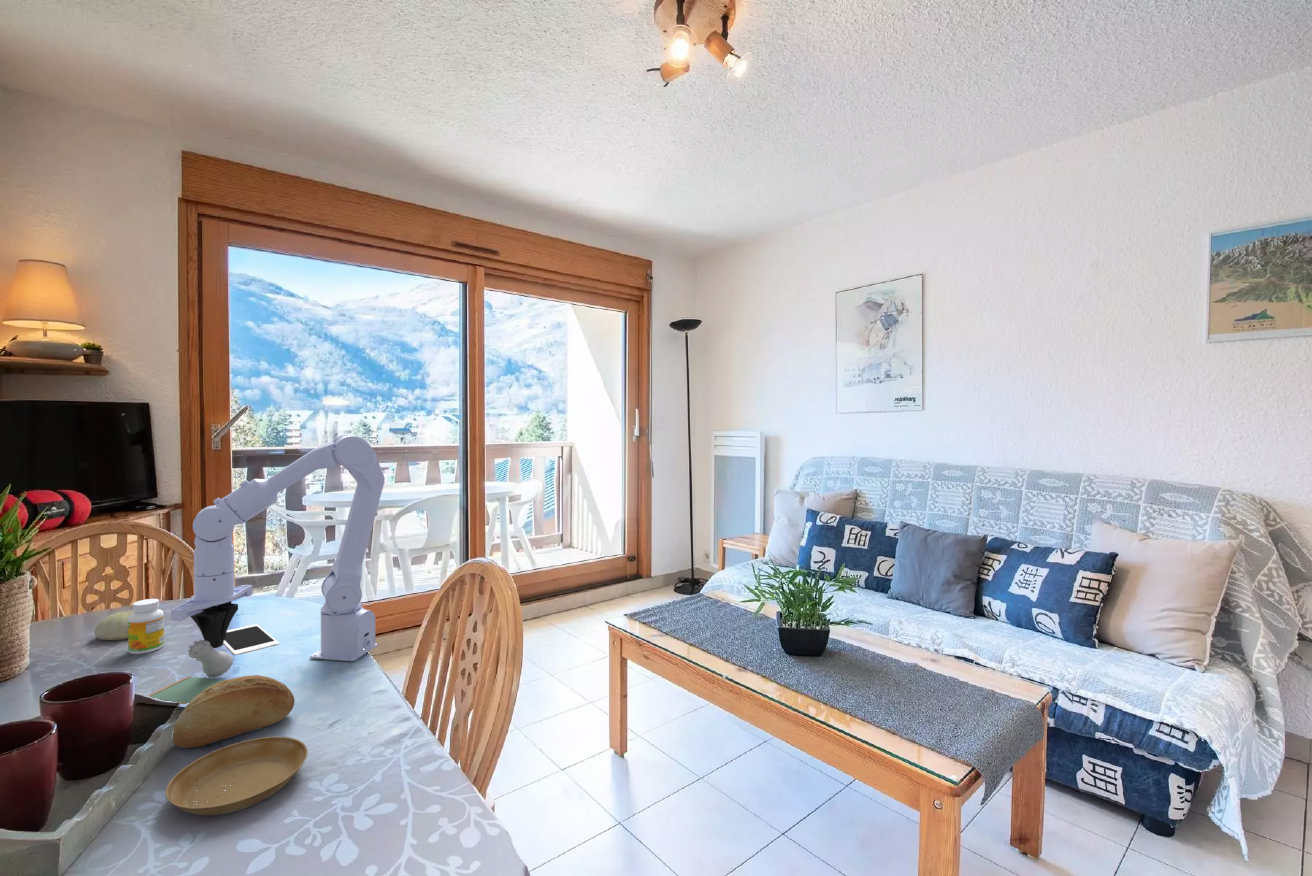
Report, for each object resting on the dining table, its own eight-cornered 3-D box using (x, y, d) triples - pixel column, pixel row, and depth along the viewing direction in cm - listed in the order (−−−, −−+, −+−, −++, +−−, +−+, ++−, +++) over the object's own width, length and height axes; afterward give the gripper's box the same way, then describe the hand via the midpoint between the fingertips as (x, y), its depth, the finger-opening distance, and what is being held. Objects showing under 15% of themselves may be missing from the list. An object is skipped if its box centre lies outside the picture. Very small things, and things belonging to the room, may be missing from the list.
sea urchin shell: (166, 622, 124) (131, 604, 119) (133, 656, 119) (95, 638, 114) (151, 614, 129) (117, 596, 124) (118, 646, 124) (82, 629, 119)
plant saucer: (237, 837, 65) (237, 814, 64) (132, 818, 67) (131, 797, 67) (333, 761, 79) (333, 743, 79) (243, 748, 82) (243, 730, 82)
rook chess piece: (221, 681, 102) (197, 661, 96) (200, 675, 103) (175, 655, 97) (240, 657, 105) (217, 637, 99) (219, 652, 106) (196, 631, 100)
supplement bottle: (122, 651, 113) (121, 603, 112) (154, 642, 118) (154, 596, 117) (137, 656, 111) (137, 607, 110) (170, 646, 116) (169, 599, 115)
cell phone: (234, 657, 112) (234, 654, 112) (214, 635, 123) (214, 633, 123) (280, 645, 118) (280, 642, 118) (256, 626, 129) (256, 623, 129)
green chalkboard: (248, 683, 101) (248, 680, 101) (201, 709, 92) (201, 706, 92) (188, 678, 102) (188, 676, 102) (136, 703, 93) (136, 700, 93)
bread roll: (301, 727, 87) (301, 676, 87) (174, 767, 77) (174, 709, 77) (288, 704, 94) (288, 656, 94) (170, 737, 84) (169, 684, 84)
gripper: (229, 561, 110) (229, 630, 110) (154, 582, 96) (155, 661, 96) (262, 563, 109) (262, 632, 110) (191, 584, 95) (192, 664, 95)
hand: (214, 646), depth 103 cm, fingers closed
